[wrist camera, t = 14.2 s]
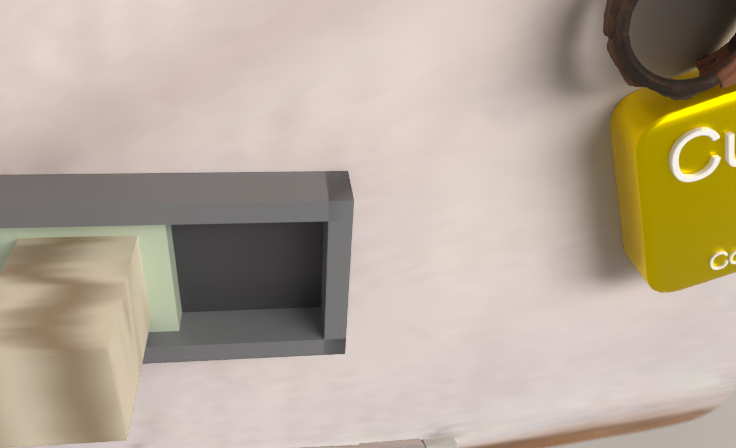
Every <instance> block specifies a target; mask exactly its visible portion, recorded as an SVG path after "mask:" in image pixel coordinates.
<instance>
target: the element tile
mask: <svg viewBox="0 0 736 448" xmlns="http://www.w3.org/2000/svg"><path fill="white" fill-rule="evenodd" d="M695 77H699V70H698V69H696V70H693V71H690V72H687V73H684V74H681V75H678V76H675V77H672V78H669V79H675V80H682V79H691V78H695ZM610 132H611V141H612V150H613V159H614V167H615V176H616V185H617V194H618V202H619V211H620V220H621V228H622V237H623V246H624V250H625V253H626V255H627V256H628V257H629V259H630V260H631V261H632V263H633V264H634V266H635V267H636V268H637V270H638V271H639V272H640V274H641V275H642V277H643V278H644V279H645V281H646V282H647V283H648V285H649V286H650V287H651V288H652V289H653V290H655V291H658V292H674V291H679V290H682V289H685V288H688V287H691V286H694V285H697V284H701V283H704V282H707V281H710V280H713V279H716V278H719V277H722V276H726V275H729V274H732V273H735V272H736V83H734V84H732V85H730V86H728V87H726V88H724V89H722V88H720V83H719V84H718V85H717V86H715V87H713V88H711V89H708V90H706V91H703V92H700V93H699V94H697V95H695V96H693V97H692V98H691V99H688V100H672V99H671V98H670V97H664V96H662V95H660V94H659V93H658V92H656V91H653V90H650V89H648V88H647V87H643V88H640V89H638V90H636V91H634V92H632V93H630V94H629V95H628V96H626V97H625V98H624V99H622V100H621V101H620V102H619V104H618V105H617V106H616V108H615V109H614V111H613V115H612V118H611V121H610Z"/></svg>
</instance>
